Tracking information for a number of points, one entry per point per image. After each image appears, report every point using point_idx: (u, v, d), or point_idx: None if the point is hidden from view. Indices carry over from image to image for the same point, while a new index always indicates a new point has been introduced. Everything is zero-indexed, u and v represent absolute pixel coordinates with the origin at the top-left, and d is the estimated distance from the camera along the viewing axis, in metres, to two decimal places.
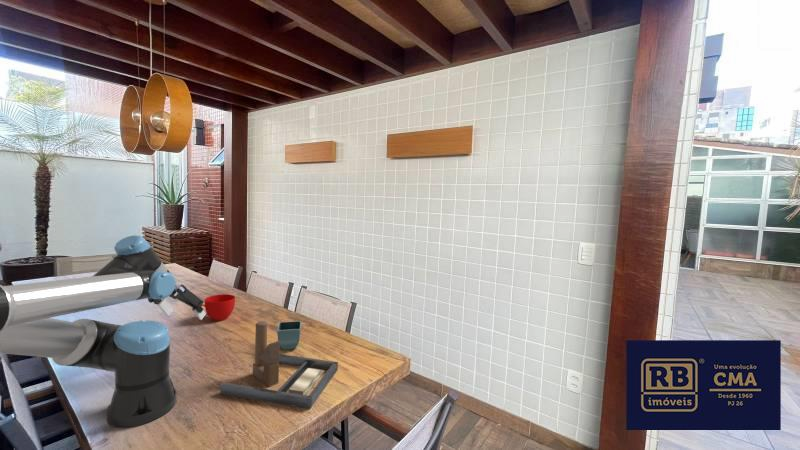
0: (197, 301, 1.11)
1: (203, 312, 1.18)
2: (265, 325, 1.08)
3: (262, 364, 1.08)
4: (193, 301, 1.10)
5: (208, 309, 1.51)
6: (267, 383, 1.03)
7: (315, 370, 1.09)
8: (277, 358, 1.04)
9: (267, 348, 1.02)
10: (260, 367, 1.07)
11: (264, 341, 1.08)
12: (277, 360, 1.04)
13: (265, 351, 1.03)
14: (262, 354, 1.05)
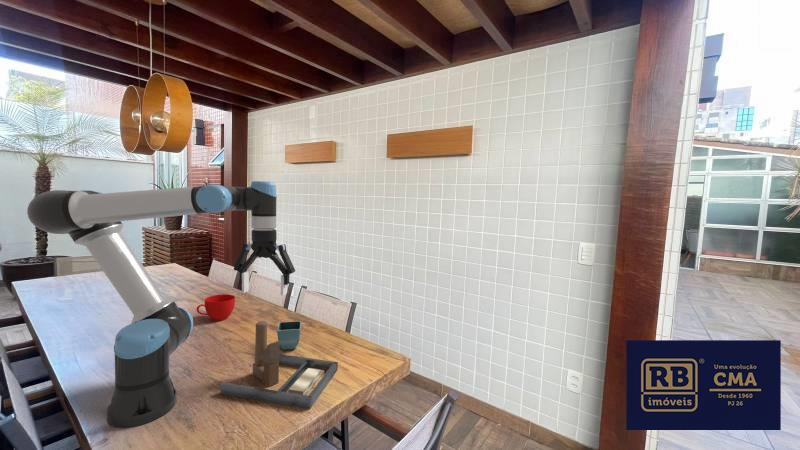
0: (291, 266, 1.05)
1: (286, 289, 1.07)
2: (265, 325, 1.08)
3: (262, 364, 1.08)
4: (288, 263, 1.04)
5: (208, 309, 1.51)
6: (267, 383, 1.03)
7: (315, 370, 1.09)
8: (277, 358, 1.04)
9: (267, 348, 1.02)
10: (260, 367, 1.07)
11: (264, 341, 1.08)
12: (277, 360, 1.04)
13: (265, 351, 1.03)
14: (262, 354, 1.05)
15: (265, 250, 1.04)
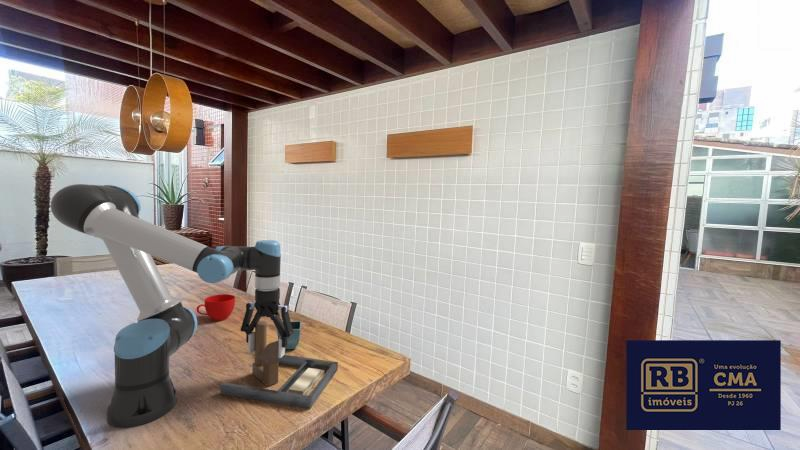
0: (290, 329, 1.05)
1: (284, 350, 1.07)
2: (264, 325, 1.08)
3: (262, 364, 1.08)
4: (288, 327, 1.04)
5: (208, 309, 1.51)
6: (267, 383, 1.03)
7: (315, 370, 1.09)
8: (276, 358, 1.04)
9: (266, 348, 1.02)
10: (259, 367, 1.08)
11: (264, 341, 1.08)
12: (277, 360, 1.04)
13: (265, 351, 1.03)
14: (262, 354, 1.05)
15: (268, 310, 1.04)
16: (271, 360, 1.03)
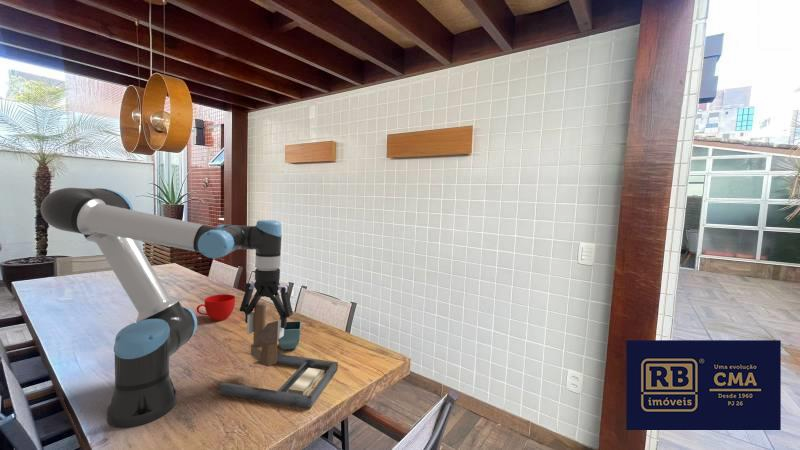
0: (289, 309, 1.04)
1: (283, 331, 1.06)
2: (264, 305, 1.07)
3: (260, 345, 1.08)
4: (287, 307, 1.04)
5: (208, 309, 1.51)
6: (265, 363, 1.03)
7: (315, 370, 1.09)
8: (275, 338, 1.04)
9: (265, 328, 1.02)
10: (258, 347, 1.07)
11: (263, 322, 1.07)
12: (275, 340, 1.04)
13: (263, 331, 1.03)
14: (260, 334, 1.04)
15: (267, 290, 1.03)
16: (270, 340, 1.02)
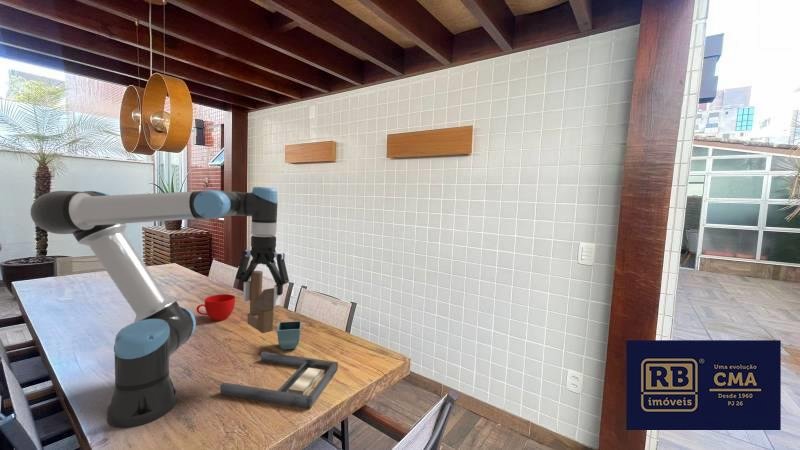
0: (285, 277, 1.04)
1: (279, 299, 1.06)
2: (260, 274, 1.07)
3: (257, 313, 1.07)
4: (283, 274, 1.03)
5: (208, 309, 1.51)
6: (261, 330, 1.02)
7: (315, 370, 1.09)
8: (272, 305, 1.03)
9: (261, 294, 1.02)
10: (254, 315, 1.07)
11: (259, 290, 1.07)
12: (272, 307, 1.03)
13: (260, 298, 1.02)
14: (257, 301, 1.04)
15: (263, 257, 1.03)
16: (266, 307, 1.02)
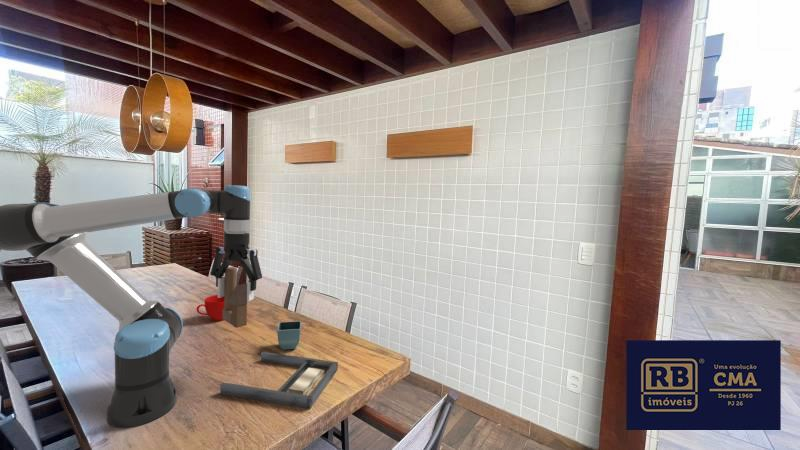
0: (258, 272, 1.06)
1: (253, 294, 1.08)
2: (234, 270, 1.09)
3: (231, 308, 1.10)
4: (256, 270, 1.06)
5: (208, 309, 1.51)
6: (235, 324, 1.05)
7: (315, 370, 1.09)
8: (245, 300, 1.06)
9: (235, 290, 1.04)
10: (229, 311, 1.09)
11: (233, 286, 1.10)
12: (245, 302, 1.06)
13: (233, 293, 1.05)
14: (230, 297, 1.06)
15: (236, 253, 1.05)
16: (239, 302, 1.05)
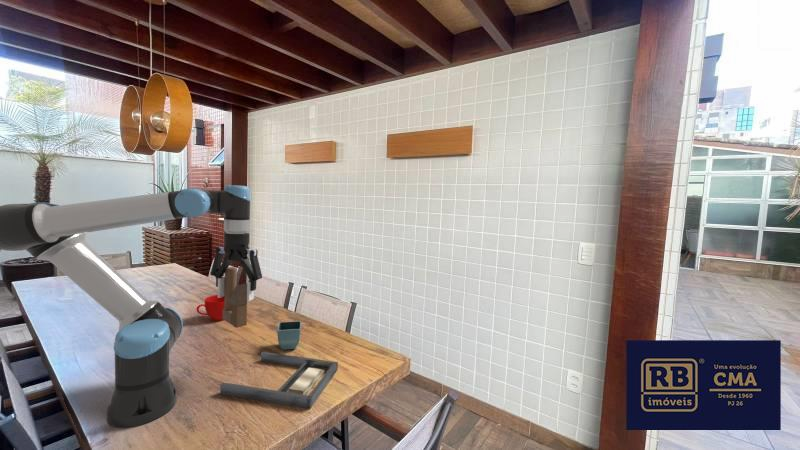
0: (258, 272, 1.06)
1: (253, 294, 1.08)
2: (234, 270, 1.09)
3: (231, 308, 1.10)
4: (256, 270, 1.06)
5: (208, 309, 1.51)
6: (235, 324, 1.05)
7: (315, 370, 1.09)
8: (245, 300, 1.06)
9: (235, 290, 1.04)
10: (229, 311, 1.09)
11: (233, 286, 1.10)
12: (245, 302, 1.06)
13: (233, 293, 1.05)
14: (230, 297, 1.06)
15: (236, 253, 1.05)
16: (239, 302, 1.05)
